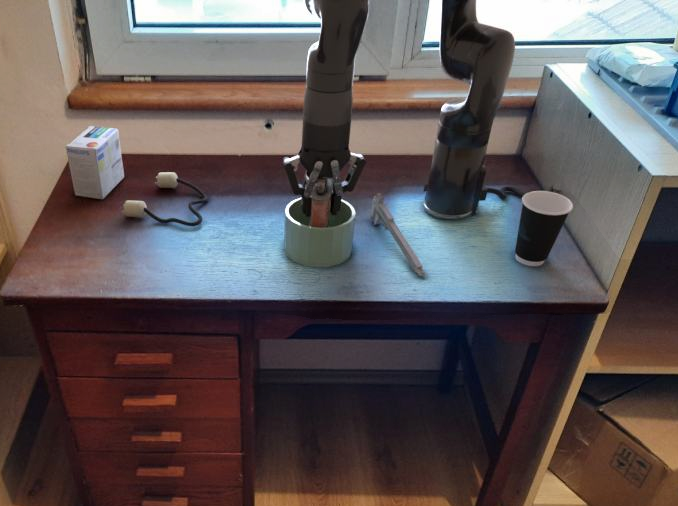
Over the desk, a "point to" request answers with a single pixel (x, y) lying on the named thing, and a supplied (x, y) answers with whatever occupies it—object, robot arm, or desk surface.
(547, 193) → the dixie cup
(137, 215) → the cable
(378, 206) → the caliper
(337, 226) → the pencil cup
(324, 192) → the lighter
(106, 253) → the desk surface
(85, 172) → the light bulb box
